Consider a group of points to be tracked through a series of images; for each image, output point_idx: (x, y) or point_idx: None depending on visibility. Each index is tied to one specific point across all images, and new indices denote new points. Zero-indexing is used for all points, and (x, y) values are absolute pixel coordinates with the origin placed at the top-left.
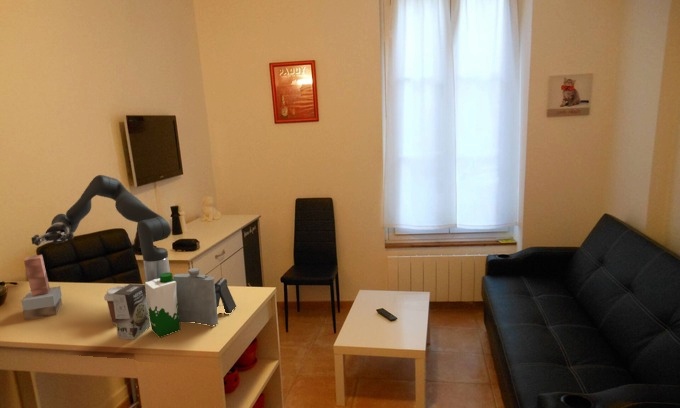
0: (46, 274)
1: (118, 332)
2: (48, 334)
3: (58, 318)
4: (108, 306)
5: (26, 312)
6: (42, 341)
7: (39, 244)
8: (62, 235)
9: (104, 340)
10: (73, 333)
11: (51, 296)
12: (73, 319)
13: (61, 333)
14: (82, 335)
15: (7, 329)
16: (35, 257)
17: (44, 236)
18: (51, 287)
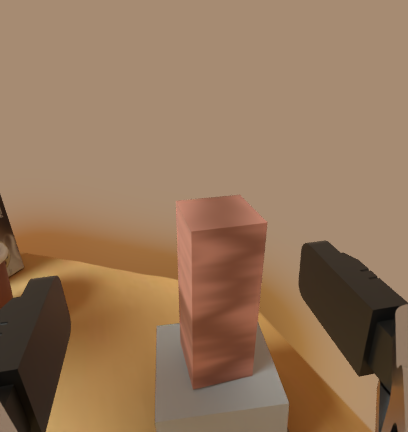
0: (191, 329)
1: (19, 256)
2: (153, 294)
3: (150, 358)
4: (7, 275)
5: None
6: (157, 276)
7: (321, 321)
8: (10, 420)
9: (48, 266)
10: (102, 290)
11: (161, 325)
12: (107, 345)
13: (126, 293)
14: (84, 282)
15: (267, 326)
16: (204, 208)
17: (397, 410)
18: (194, 414)
